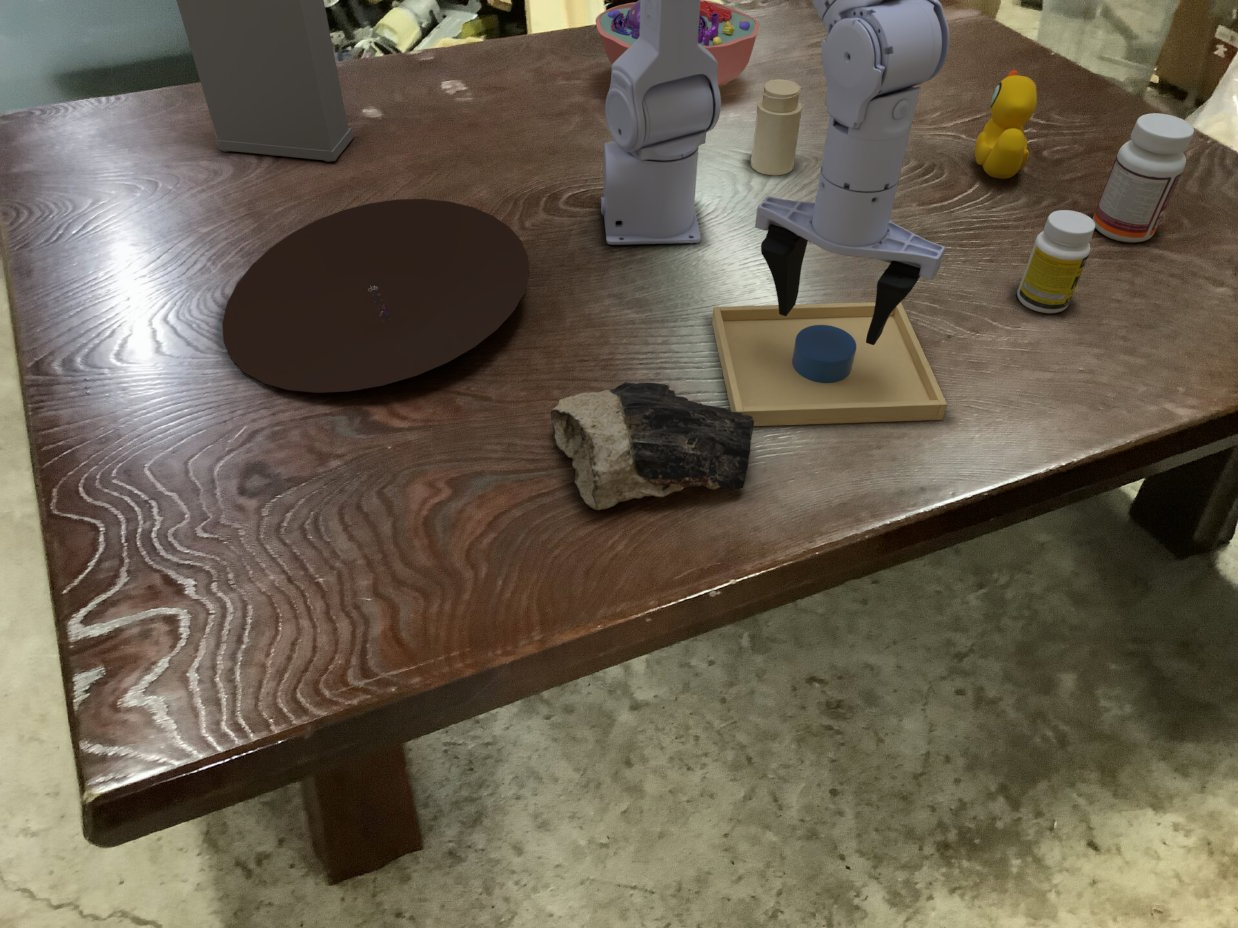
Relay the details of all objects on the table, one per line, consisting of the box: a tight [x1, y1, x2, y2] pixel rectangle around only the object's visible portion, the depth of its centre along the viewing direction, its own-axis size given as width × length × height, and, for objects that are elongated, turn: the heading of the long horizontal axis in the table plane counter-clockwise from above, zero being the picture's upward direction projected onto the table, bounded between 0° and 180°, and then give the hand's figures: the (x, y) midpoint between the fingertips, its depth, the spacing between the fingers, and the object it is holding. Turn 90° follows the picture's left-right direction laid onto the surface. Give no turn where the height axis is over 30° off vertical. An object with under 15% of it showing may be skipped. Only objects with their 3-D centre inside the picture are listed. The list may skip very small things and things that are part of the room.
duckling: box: [974, 69, 1039, 180], centre depth 107 cm, size 11×5×10 cm, turn 168°
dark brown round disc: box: [221, 198, 530, 394], centre depth 89 cm, size 28×28×4 cm
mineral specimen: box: [550, 381, 755, 511], centre depth 75 cm, size 13×7×15 cm
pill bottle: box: [1092, 112, 1195, 243], centre depth 97 cm, size 6×6×11 cm
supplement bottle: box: [1016, 209, 1096, 314], centre depth 89 cm, size 5×5×8 cm
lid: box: [792, 325, 857, 383], centre depth 84 cm, size 5×5×2 cm
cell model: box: [595, 0, 761, 88], centre depth 120 cm, size 17×20×11 cm
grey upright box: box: [176, 0, 355, 163], centre depth 104 cm, size 14×6×25 cm, turn 80°
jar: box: [750, 78, 803, 176], centre depth 107 cm, size 5×5×9 cm
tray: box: [711, 301, 948, 427], centre depth 84 cm, size 17×14×2 cm
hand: (829, 323), depth 81 cm, fingers open, 7 cm apart
